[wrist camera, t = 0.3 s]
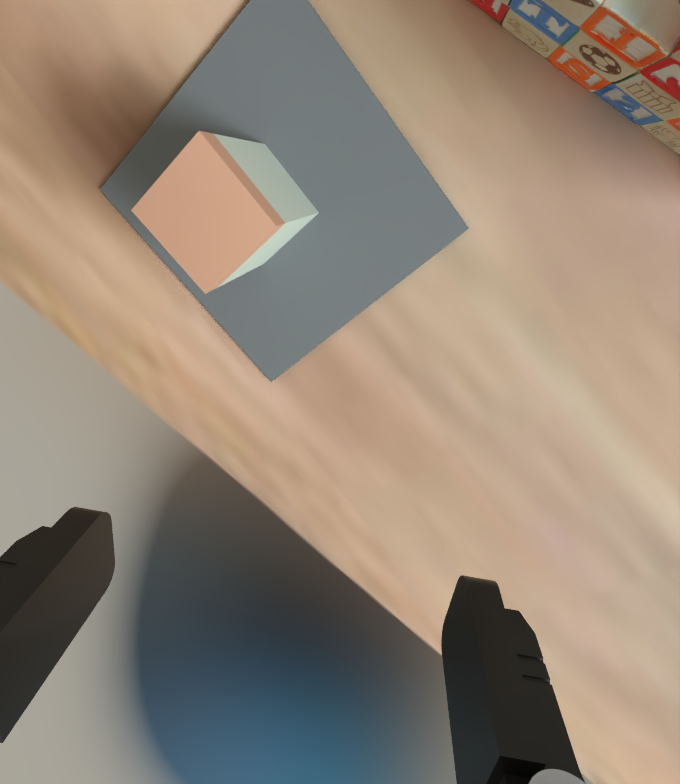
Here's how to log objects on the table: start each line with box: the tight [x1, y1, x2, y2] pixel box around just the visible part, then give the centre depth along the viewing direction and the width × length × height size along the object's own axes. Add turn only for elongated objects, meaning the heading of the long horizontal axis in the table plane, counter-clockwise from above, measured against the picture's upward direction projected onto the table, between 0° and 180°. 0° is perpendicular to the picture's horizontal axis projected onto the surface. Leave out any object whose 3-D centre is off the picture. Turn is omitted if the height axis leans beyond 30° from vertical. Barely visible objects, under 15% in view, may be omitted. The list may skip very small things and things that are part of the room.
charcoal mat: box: [100, 0, 469, 382], centre depth 30 cm, size 17×17×1 cm
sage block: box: [131, 131, 319, 294], centre depth 26 cm, size 5×5×9 cm
